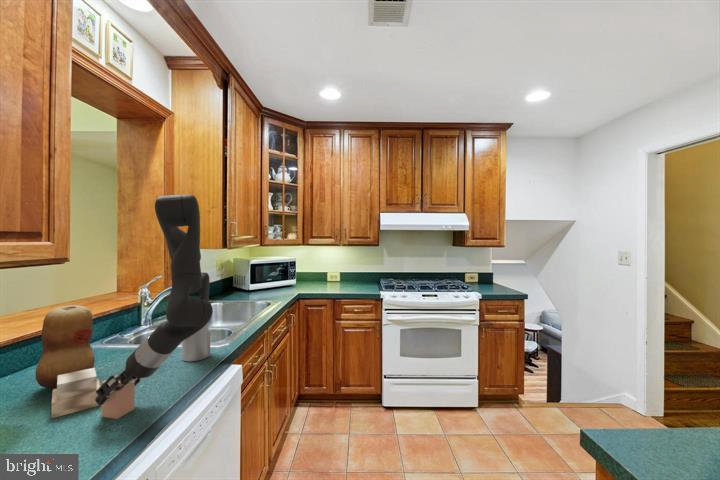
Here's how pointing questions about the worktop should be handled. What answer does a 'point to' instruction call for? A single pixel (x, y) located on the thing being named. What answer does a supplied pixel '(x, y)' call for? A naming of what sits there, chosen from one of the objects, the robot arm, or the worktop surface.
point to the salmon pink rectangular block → (119, 402)
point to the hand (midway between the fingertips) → (114, 394)
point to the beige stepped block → (75, 392)
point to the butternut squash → (65, 344)
